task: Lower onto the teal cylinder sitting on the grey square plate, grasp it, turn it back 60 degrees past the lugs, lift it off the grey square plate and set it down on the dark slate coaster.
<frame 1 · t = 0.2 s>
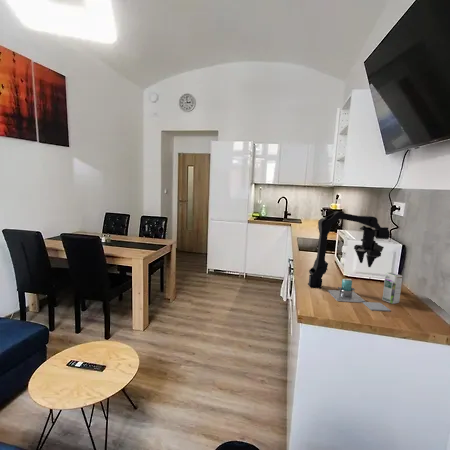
hand: (365, 265, 162), 14 cm above the worktop, fingers open, 9 cm apart
coaster: (376, 307, 138), on the worktop
teal cylinder: (346, 289, 149), point 4 cm above the worktop, touching grey square plate
syrup box: (390, 301, 146), on the worktop
grey square plate: (345, 296, 150), on the worktop
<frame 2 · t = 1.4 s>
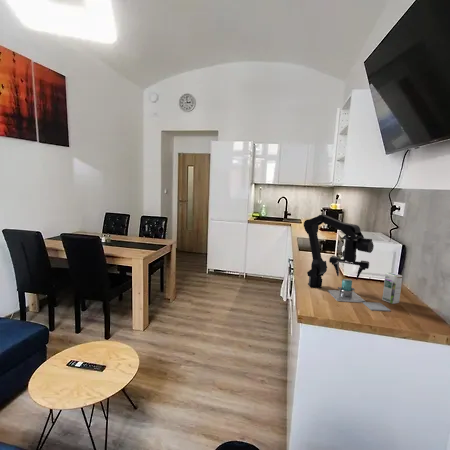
hand: (347, 278, 149), 10 cm above the worktop, fingers open, 9 cm apart
nothing on the worktop moved.
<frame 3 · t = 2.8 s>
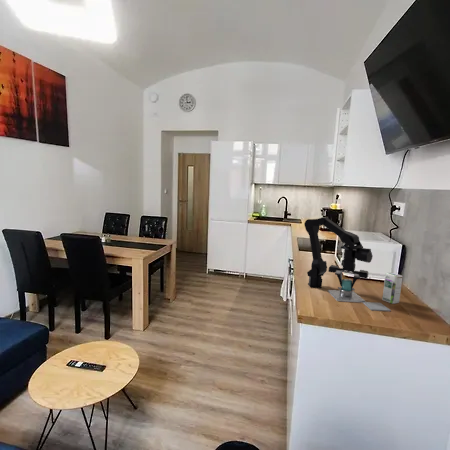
hand: (346, 287, 149), 5 cm above the worktop, fingers closed on teal cylinder, 5 cm apart
teal cylinder: (346, 289, 149), point 4 cm above the worktop, touching gripper, grey square plate
everything else where it was.
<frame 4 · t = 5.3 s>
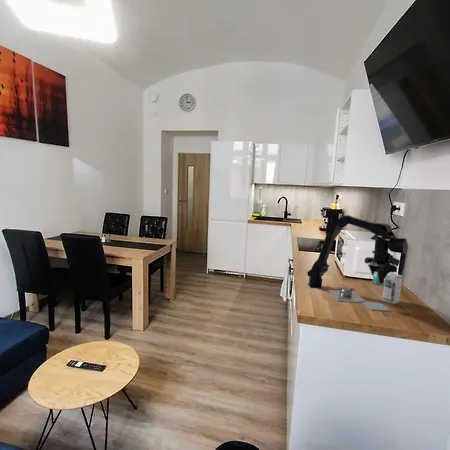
hand: (378, 281, 136), 13 cm above the worktop, fingers closed on teal cylinder, 5 cm apart
teal cylinder: (378, 284, 136), point 11 cm above the worktop, touching gripper
everything else where it was.
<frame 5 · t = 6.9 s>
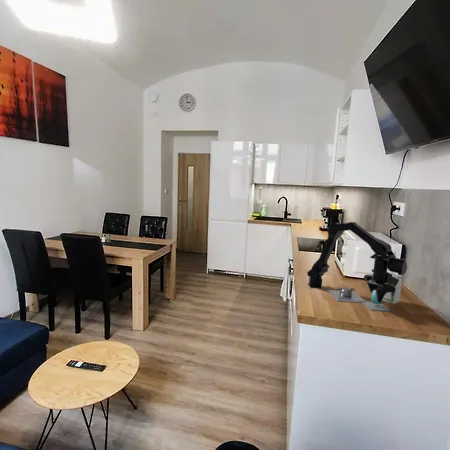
hand: (376, 300, 137), 3 cm above the worktop, fingers closed on teal cylinder, 5 cm apart
teal cylinder: (376, 302, 137), point 2 cm above the worktop, touching gripper
everything else where it was.
when the fingers open (3 cm above the worktop, at t = 7.9 s): teal cylinder stays where it is, resting on coaster.
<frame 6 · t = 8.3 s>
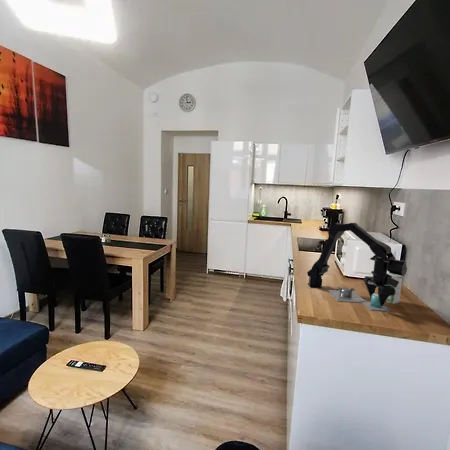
hand: (376, 301, 137), 3 cm above the worktop, fingers open, 9 cm apart
teal cylinder: (376, 305, 137), point 1 cm above the worktop, touching coaster
everything else where it was.
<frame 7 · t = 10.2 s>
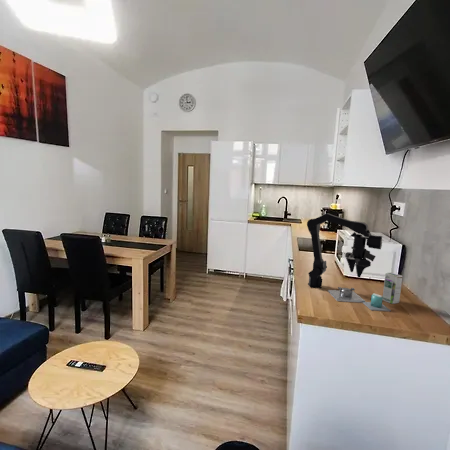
hand: (355, 274, 152), 11 cm above the worktop, fingers open, 9 cm apart
nothing on the worktop moved.
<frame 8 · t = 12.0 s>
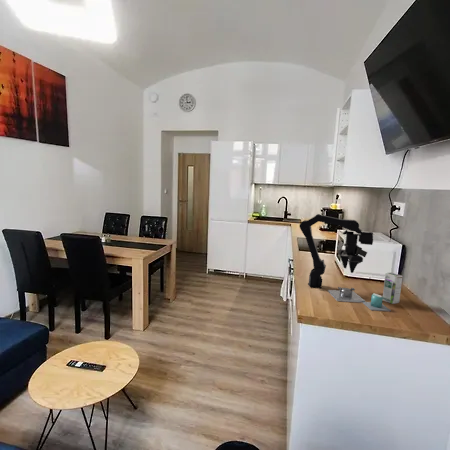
hand: (348, 270, 157), 12 cm above the worktop, fingers open, 9 cm apart
nothing on the worktop moved.
at the end: teal cylinder inside the target area on the coaster (0.0 cm from its centre), point 0.6 cm above the coaster's base; teal cylinder touching coaster; teal cylinder tilted 0° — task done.
